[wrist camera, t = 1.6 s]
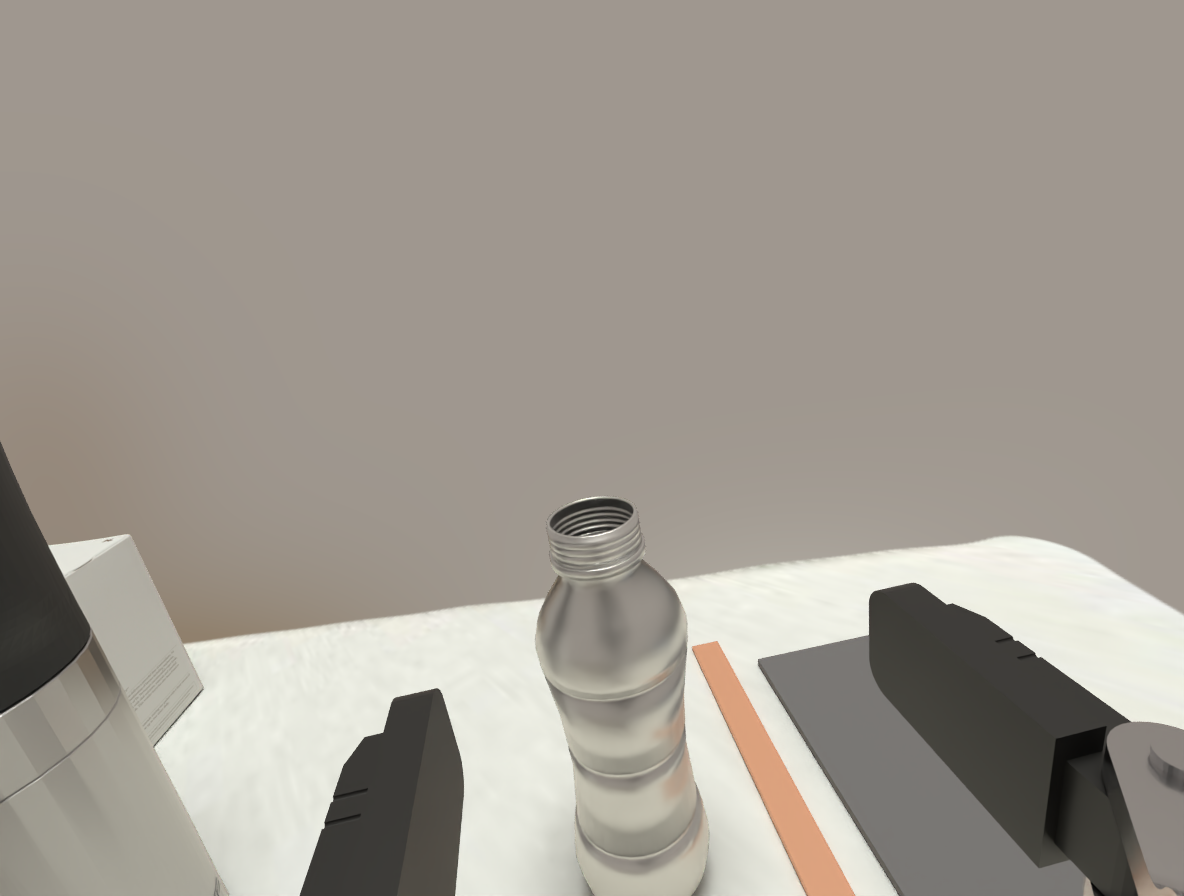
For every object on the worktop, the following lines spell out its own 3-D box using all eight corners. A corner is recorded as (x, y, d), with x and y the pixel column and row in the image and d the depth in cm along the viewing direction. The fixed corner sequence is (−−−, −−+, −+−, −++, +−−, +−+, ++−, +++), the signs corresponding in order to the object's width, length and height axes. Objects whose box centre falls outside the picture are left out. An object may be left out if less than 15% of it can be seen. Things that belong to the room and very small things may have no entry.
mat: (932, 949, 24) (933, 941, 24) (758, 664, 41) (757, 659, 41) (1145, 892, 25) (1147, 884, 25) (888, 636, 42) (888, 630, 42)
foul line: (888, 1069, 21) (888, 1064, 21) (692, 649, 43) (692, 646, 43) (938, 1055, 21) (939, 1050, 21) (717, 644, 44) (717, 641, 43)
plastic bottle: (558, 865, 29) (478, 524, 23) (654, 785, 33) (607, 470, 27) (639, 980, 24) (565, 582, 18) (742, 870, 28) (711, 506, 21)
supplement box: (105, 700, 48) (22, 546, 43) (207, 687, 48) (135, 530, 43) (1, 798, 39) (-117, 618, 35) (125, 782, 39) (23, 599, 34)
